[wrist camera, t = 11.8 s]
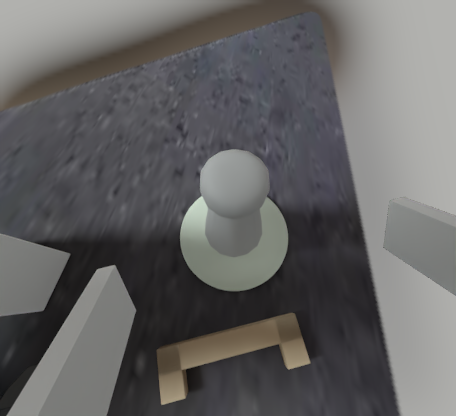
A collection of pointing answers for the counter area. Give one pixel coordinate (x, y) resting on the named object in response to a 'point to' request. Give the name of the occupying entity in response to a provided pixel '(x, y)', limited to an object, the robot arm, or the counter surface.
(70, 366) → the robot arm
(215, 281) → the disc
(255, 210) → the salt shaker
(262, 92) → the counter surface
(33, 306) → the milk
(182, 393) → the oak holder
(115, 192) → the counter surface
